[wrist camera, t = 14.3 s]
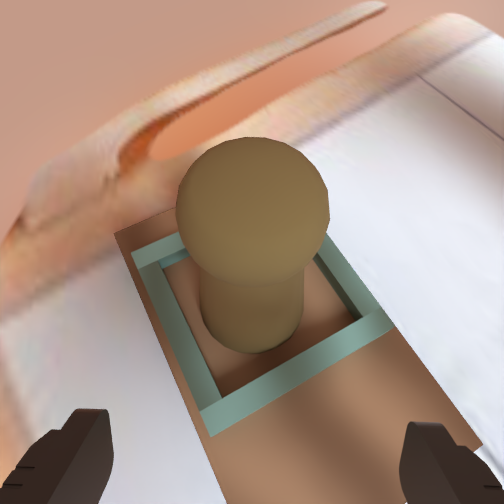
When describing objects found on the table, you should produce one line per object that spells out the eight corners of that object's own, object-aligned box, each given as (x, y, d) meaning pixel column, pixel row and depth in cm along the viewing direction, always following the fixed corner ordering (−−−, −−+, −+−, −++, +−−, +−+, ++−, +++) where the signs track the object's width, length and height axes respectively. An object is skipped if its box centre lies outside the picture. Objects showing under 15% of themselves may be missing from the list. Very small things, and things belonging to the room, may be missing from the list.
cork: (213, 247, 22) (183, 97, 12) (309, 263, 21) (359, 121, 12) (187, 342, 19) (120, 249, 9) (296, 364, 19) (348, 289, 9)
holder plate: (274, 177, 26) (276, 152, 24) (466, 443, 18) (499, 445, 16) (121, 244, 24) (106, 223, 21) (267, 590, 16) (271, 619, 13)
